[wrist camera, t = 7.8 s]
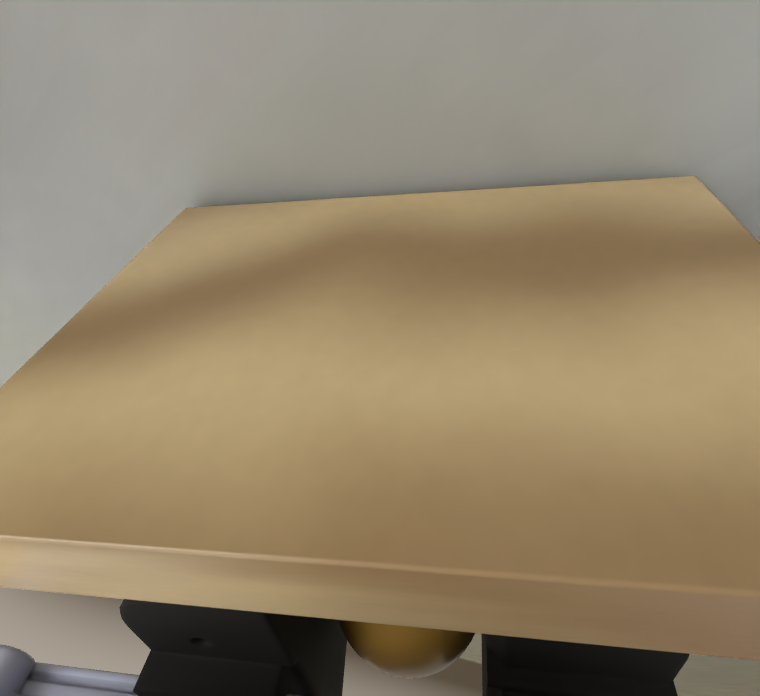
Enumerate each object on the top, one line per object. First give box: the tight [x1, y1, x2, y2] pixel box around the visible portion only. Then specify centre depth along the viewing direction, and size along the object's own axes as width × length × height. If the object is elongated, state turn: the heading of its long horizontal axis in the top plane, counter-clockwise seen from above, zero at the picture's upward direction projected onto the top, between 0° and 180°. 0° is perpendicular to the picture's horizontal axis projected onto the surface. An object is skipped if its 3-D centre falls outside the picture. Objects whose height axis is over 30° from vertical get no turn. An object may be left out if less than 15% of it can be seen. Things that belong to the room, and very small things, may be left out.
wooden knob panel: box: [0, 176, 760, 678], centre depth 10 cm, size 9×12×6 cm
